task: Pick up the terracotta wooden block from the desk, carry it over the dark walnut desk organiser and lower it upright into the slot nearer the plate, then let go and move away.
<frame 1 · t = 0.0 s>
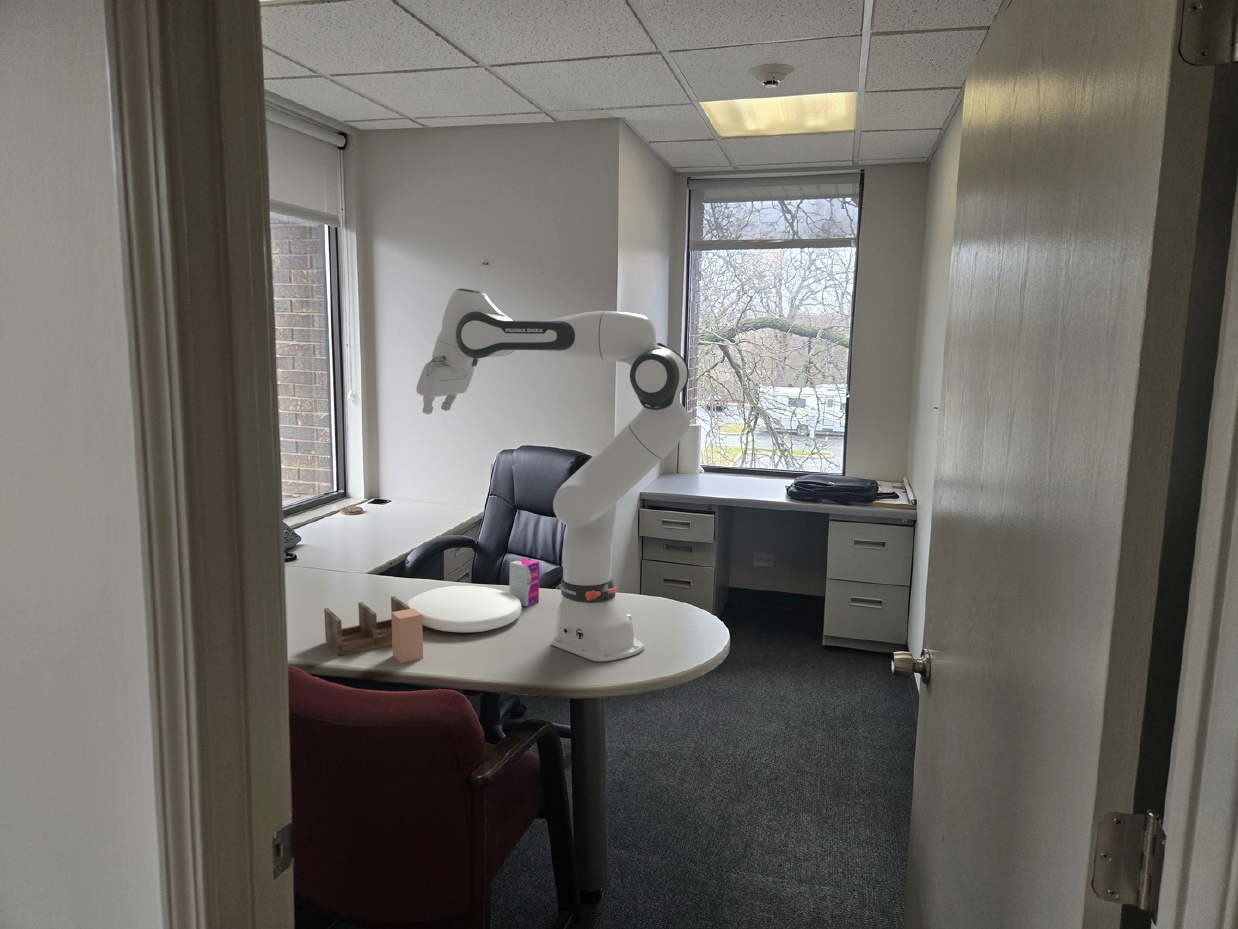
hand: (436, 411, 193), 52 cm above the table, tool tilted 20°, fingers open, 8 cm apart
plate: (464, 620, 204), on the table
desk organiser: (368, 641, 188), on the table
supplement box: (524, 604, 216), on the table
terracotta block: (407, 657, 179), on the table
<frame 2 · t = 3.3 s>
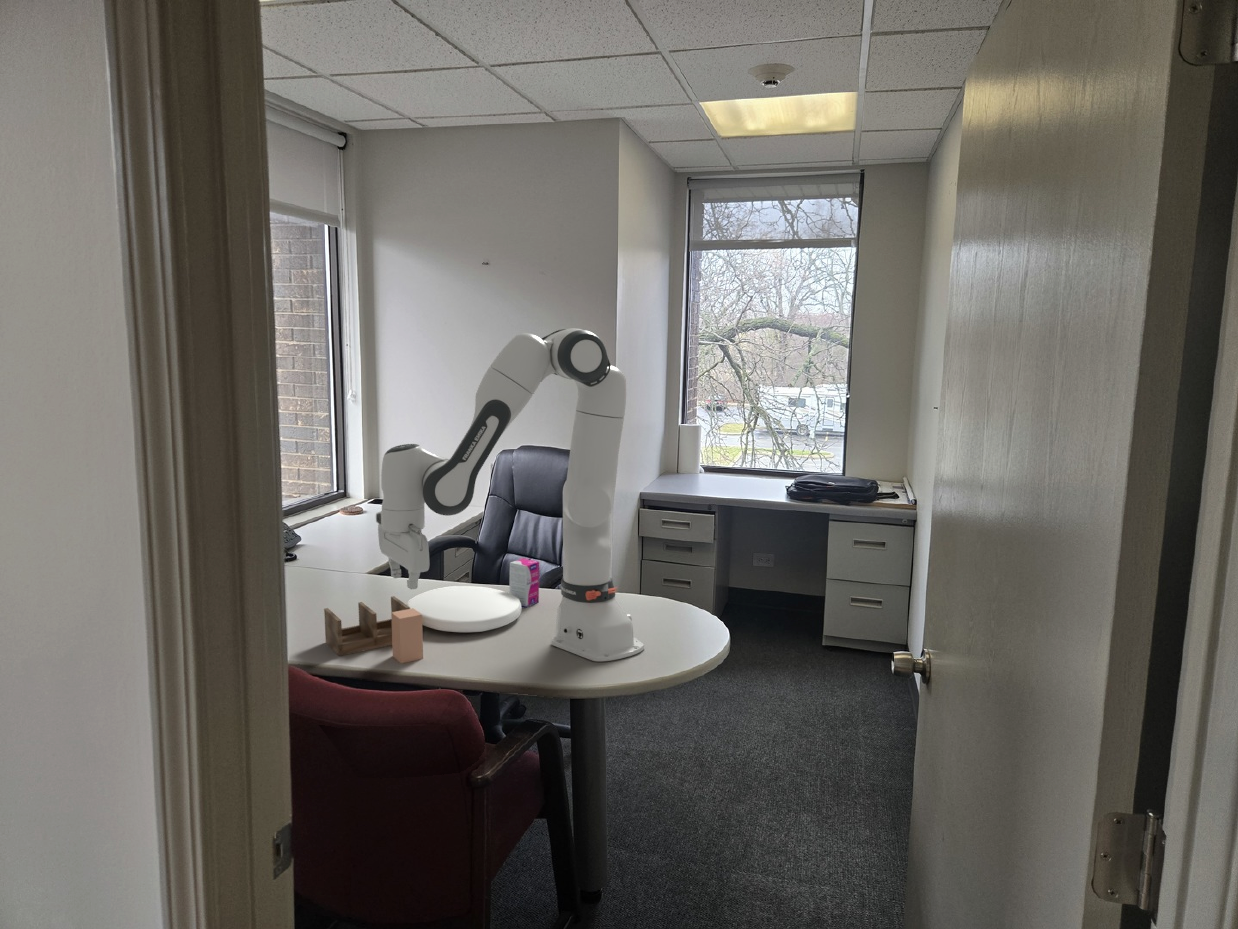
hand: (404, 582, 176), 17 cm above the table, tool pointing down, fingers open, 8 cm apart
nothing on the table moved.
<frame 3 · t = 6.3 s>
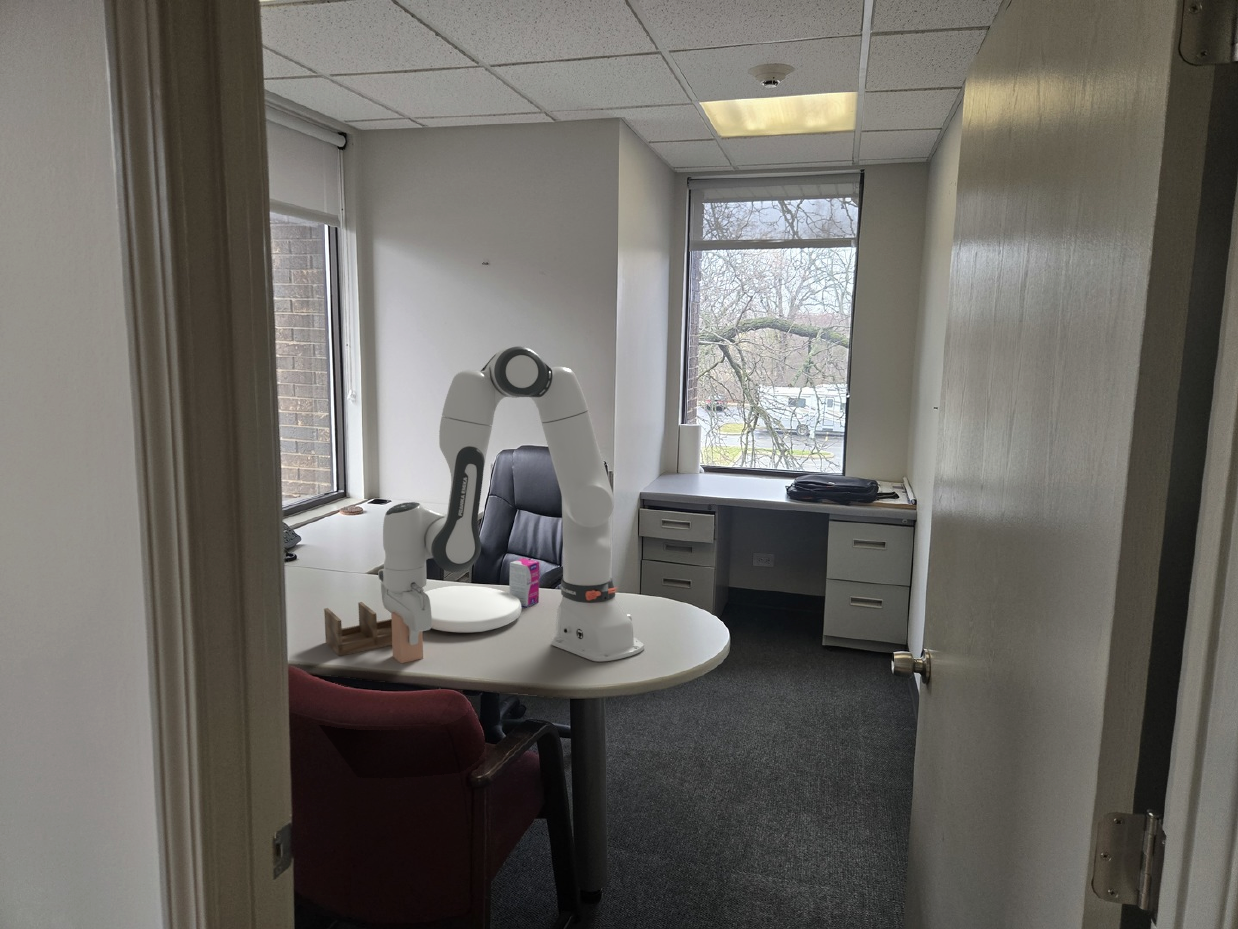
hand: (407, 639, 178), 4 cm above the table, tool pointing down, fingers closed on terracotta block, 5 cm apart
terracotta block: (407, 657, 179), on the table, touching gripper
everything else where it was.
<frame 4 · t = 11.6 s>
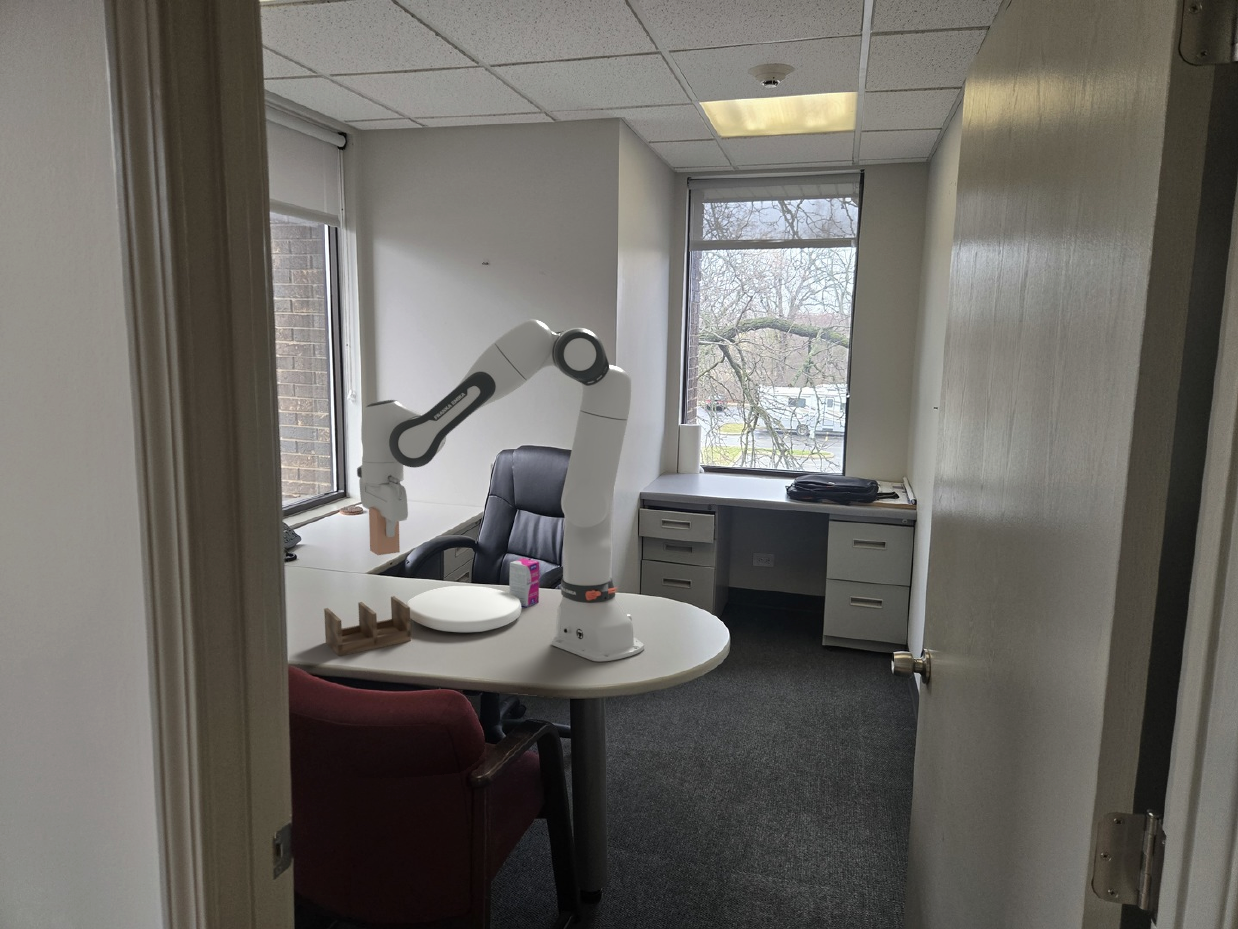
hand: (384, 533, 184), 26 cm above the table, tool pointing down, fingers closed on terracotta block, 5 cm apart
terracotta block: (384, 551, 185), point 21 cm above the table, touching gripper
everything else where it was.
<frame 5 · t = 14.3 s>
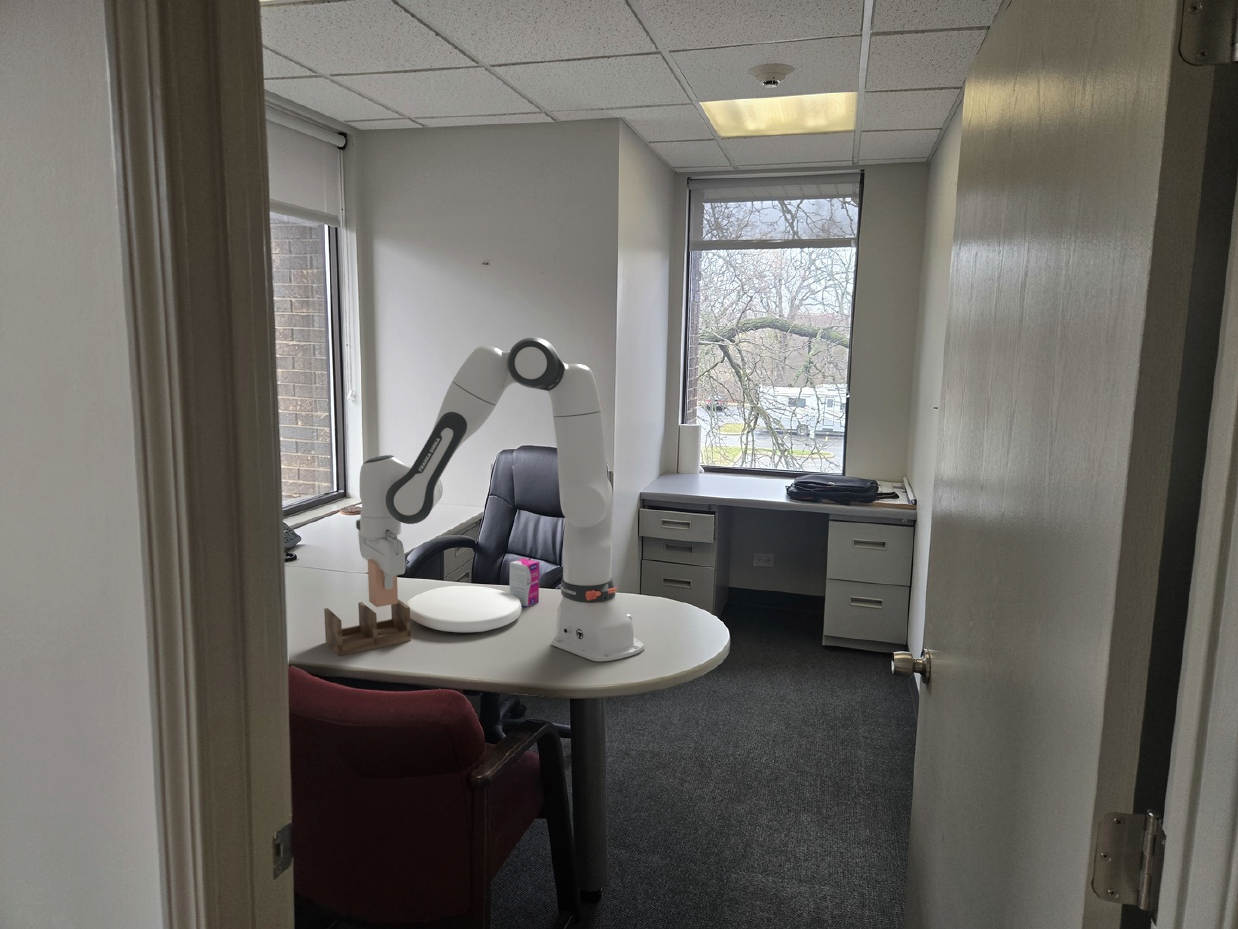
hand: (383, 585, 188), 13 cm above the table, tool pointing down, fingers closed on terracotta block, 5 cm apart
terracotta block: (383, 602, 189), point 9 cm above the table, touching gripper
everything else where it was.
when the fingers open (7 cm above the table, at t = 16.9 s): terracotta block drops 1 cm, resting on desk organiser.
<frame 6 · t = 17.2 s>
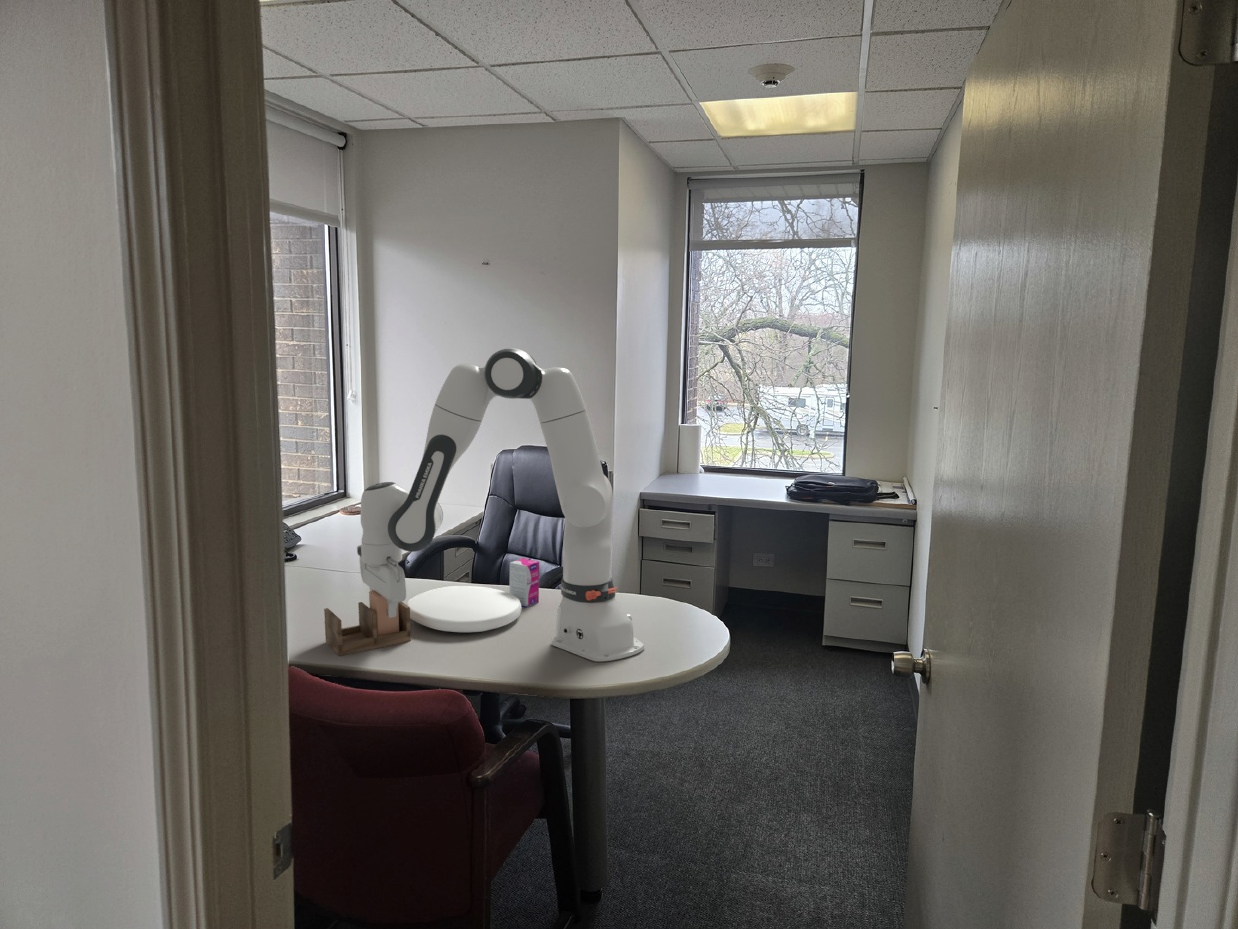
hand: (384, 610, 189), 7 cm above the table, tool pointing down, fingers open, 8 cm apart
terracotta block: (384, 634, 190), point 1 cm above the table, touching desk organiser
everything else where it was.
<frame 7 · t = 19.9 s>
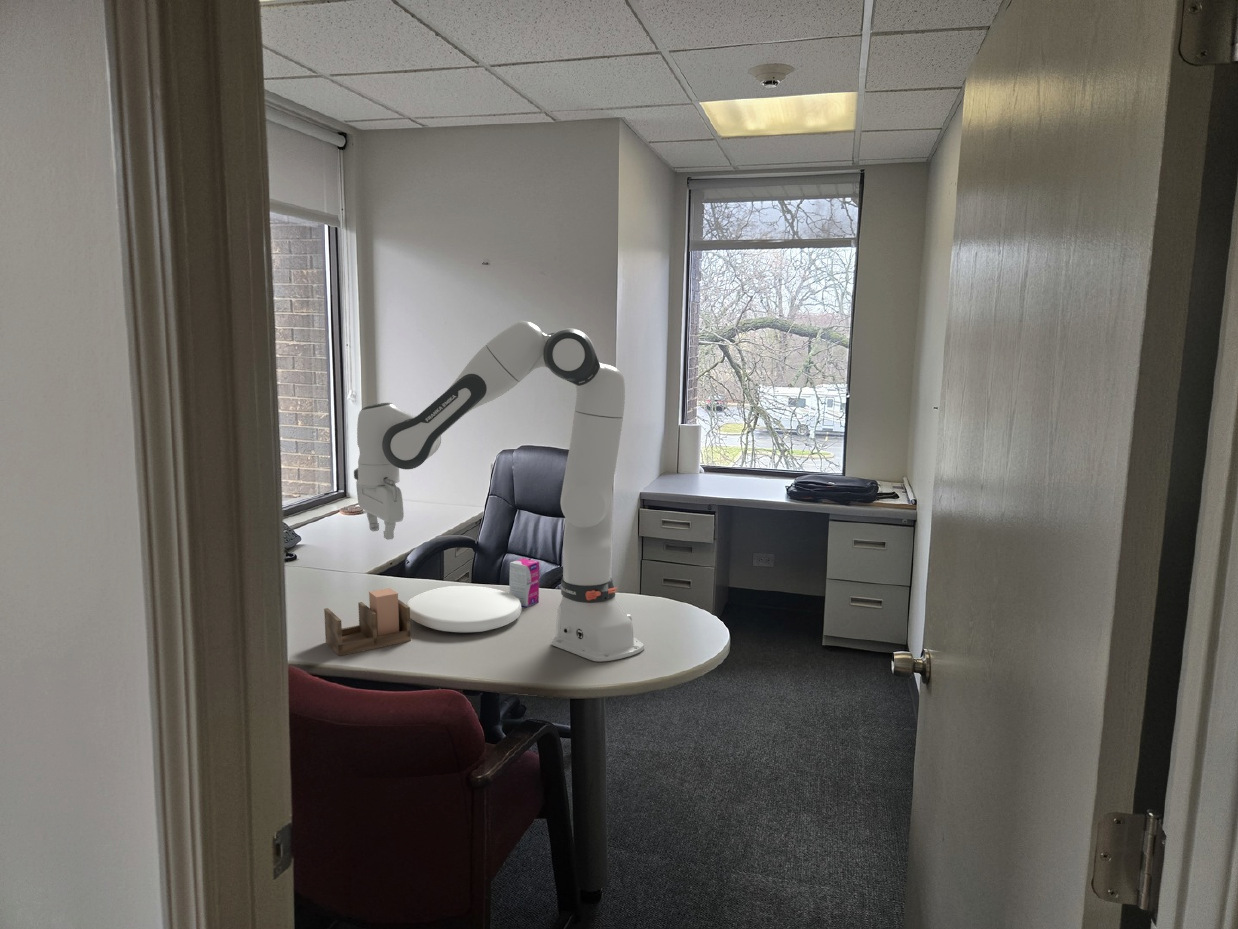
hand: (381, 534, 186), 25 cm above the table, tool pointing down, fingers open, 8 cm apart
nothing on the table moved.
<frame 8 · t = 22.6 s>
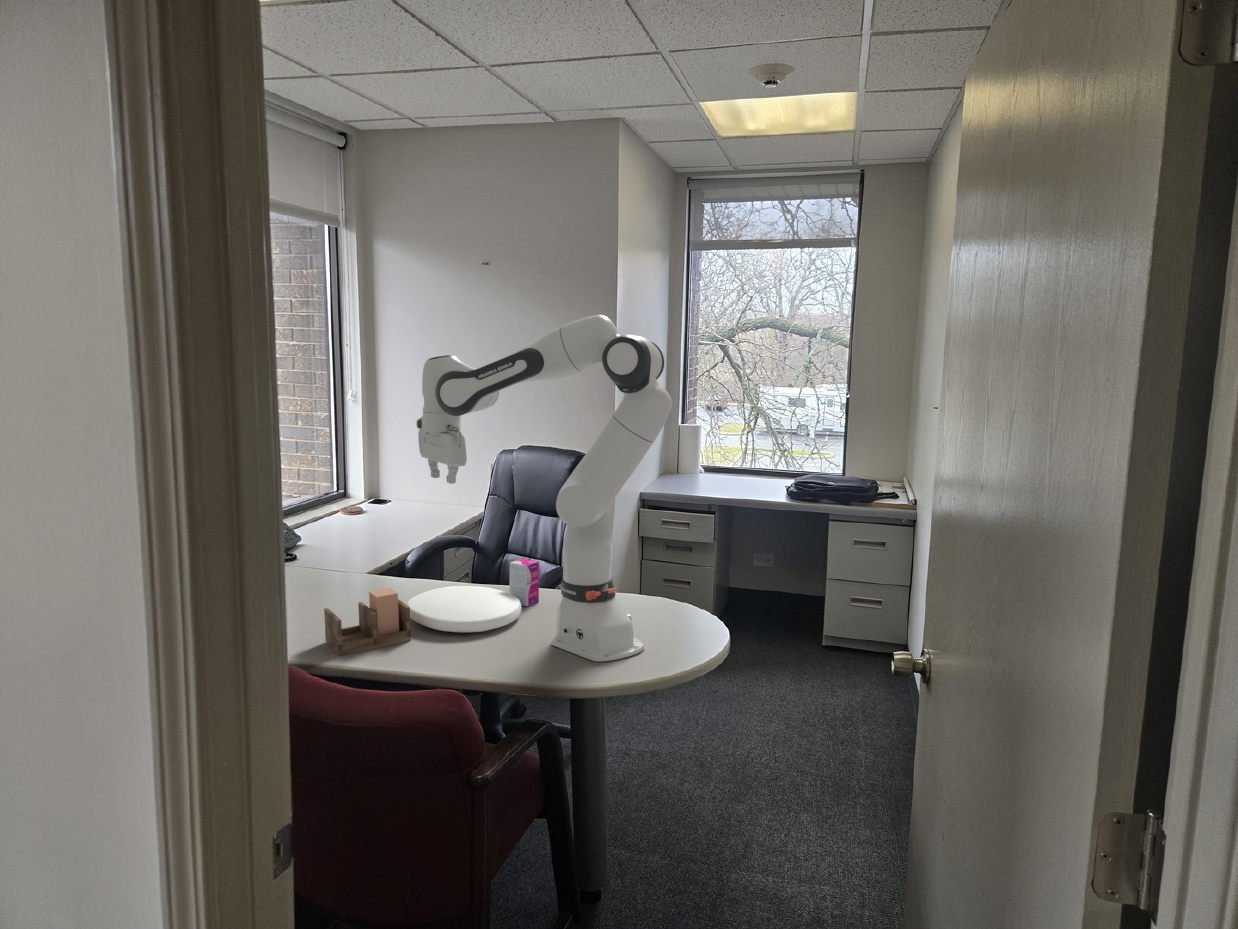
hand: (443, 480, 198), 35 cm above the table, tool pointing down, fingers open, 8 cm apart
nothing on the table moved.
at the end: terracotta block 0.1 cm from the target spot on the desk organiser, point 1.0 cm above the desk organiser's base; terracotta block tilted 0°; the gripper is holding nothing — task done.
